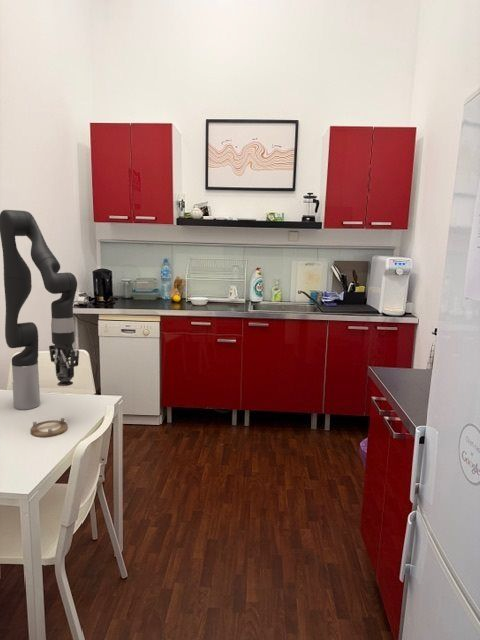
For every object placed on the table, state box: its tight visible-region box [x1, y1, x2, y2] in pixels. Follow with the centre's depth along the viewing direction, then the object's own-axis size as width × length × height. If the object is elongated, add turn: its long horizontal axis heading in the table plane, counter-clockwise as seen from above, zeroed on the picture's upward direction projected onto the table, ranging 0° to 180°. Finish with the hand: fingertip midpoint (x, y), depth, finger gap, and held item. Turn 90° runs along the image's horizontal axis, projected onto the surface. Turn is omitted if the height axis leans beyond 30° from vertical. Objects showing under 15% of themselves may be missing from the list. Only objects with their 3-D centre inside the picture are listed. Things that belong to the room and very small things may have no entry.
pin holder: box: [30, 417, 69, 438], centre depth 157 cm, size 12×12×2 cm
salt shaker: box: [55, 356, 74, 387], centre depth 161 cm, size 6×6×12 cm
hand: (64, 375), depth 161 cm, fingers closed on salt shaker, 6 cm apart
